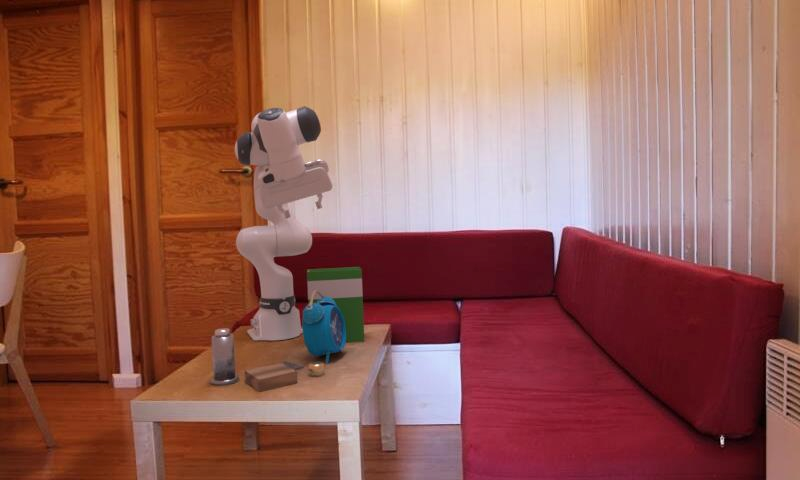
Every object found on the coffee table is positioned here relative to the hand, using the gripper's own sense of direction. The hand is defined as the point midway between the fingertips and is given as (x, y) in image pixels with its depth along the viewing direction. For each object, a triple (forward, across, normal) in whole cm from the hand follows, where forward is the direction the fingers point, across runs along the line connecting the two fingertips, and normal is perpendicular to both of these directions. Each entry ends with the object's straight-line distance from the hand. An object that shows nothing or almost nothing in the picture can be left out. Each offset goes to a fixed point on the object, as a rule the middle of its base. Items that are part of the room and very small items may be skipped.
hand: (303, 212), depth 155 cm
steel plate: (+36, +17, +21) cm, 45 cm away
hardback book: (+49, +3, -4) cm, 49 cm away
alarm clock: (+41, +6, +13) cm, 44 cm away
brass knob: (+34, +8, +29) cm, 46 cm away
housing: (+29, +32, +27) cm, 50 cm away
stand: (+30, +20, +31) cm, 48 cm away
